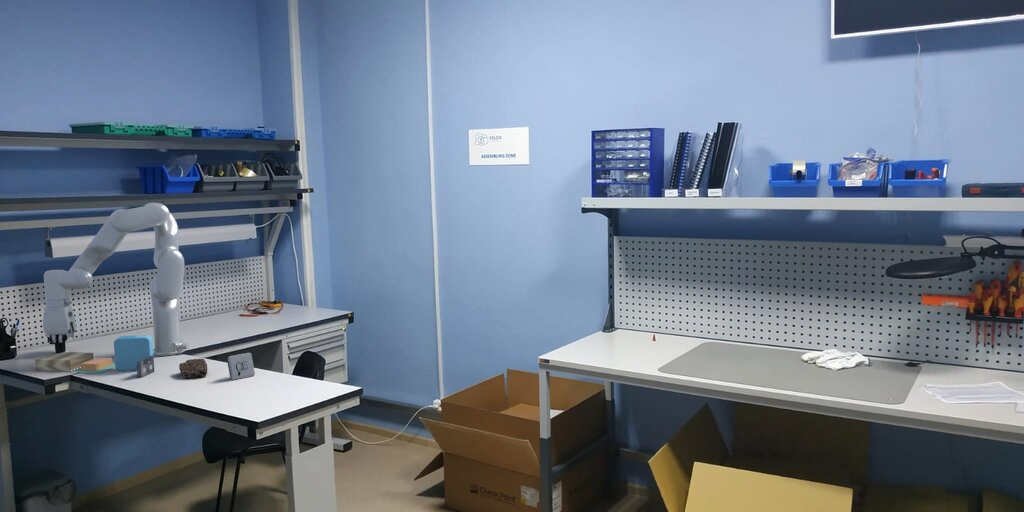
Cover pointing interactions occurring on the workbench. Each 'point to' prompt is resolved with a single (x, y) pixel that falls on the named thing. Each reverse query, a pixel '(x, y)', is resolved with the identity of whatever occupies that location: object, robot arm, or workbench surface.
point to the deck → (62, 361)
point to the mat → (96, 370)
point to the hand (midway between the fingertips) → (60, 352)
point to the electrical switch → (240, 366)
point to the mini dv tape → (145, 366)
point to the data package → (132, 351)
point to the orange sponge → (96, 364)
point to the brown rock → (194, 368)
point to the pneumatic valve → (65, 342)
